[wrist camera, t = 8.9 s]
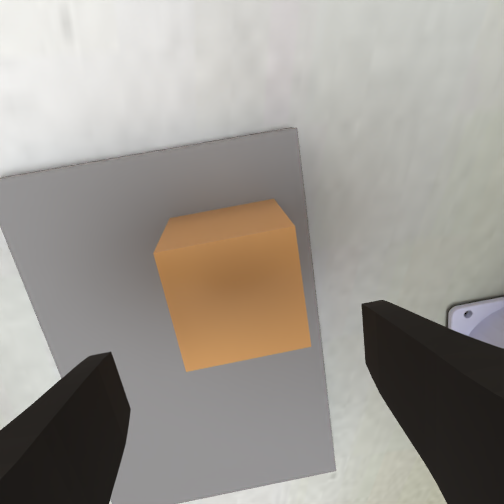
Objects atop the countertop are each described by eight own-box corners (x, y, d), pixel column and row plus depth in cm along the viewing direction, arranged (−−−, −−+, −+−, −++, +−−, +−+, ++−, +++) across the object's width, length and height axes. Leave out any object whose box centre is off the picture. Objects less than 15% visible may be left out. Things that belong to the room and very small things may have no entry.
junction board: (290, 127, 18) (313, 129, 14) (329, 451, 25) (352, 517, 21) (0, 177, 18) (-66, 195, 14) (122, 493, 25) (103, 569, 21)
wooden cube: (273, 198, 18) (294, 225, 13) (288, 292, 20) (311, 346, 15) (169, 218, 18) (153, 253, 13) (193, 311, 19) (185, 371, 15)
